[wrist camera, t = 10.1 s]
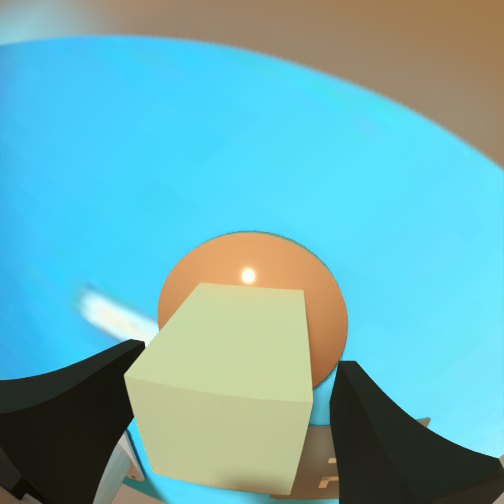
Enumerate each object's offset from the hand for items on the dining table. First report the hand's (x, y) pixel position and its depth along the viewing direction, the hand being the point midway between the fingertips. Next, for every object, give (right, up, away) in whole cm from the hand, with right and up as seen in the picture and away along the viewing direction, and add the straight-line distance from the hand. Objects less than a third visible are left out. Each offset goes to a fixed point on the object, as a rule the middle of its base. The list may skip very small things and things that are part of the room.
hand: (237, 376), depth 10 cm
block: (0, +1, +3) cm, 3 cm away
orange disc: (+1, +1, +4) cm, 4 cm away
